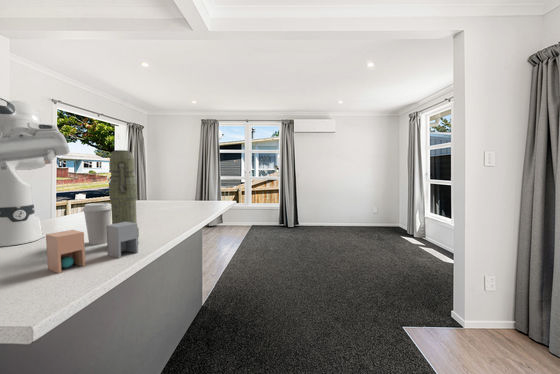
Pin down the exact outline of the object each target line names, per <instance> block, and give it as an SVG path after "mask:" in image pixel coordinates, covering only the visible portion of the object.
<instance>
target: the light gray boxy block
mask: <svg viewBox="0 0 560 374" xmlns="http://www.w3.org/2000/svg"><path fill="white" fill-rule="evenodd" d="M137 227H138V222H137V223H131V222H121V223H115V224H112V223H110V225H106V228H107V243H106V246H107V256H110V257H114V258H117V259H121V258H122V253H123V252H126V251H127V252H129V253H135V254H138V253H139V243H138V242H139V237H138V231H137Z"/></svg>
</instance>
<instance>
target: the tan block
mask: <svg viewBox="0 0 560 374" xmlns="http://www.w3.org/2000/svg"><path fill="white" fill-rule="evenodd" d="M45 234H46V237H45V241H46V243H45V244H46V258H47V260H46V261H47V270H50V271H52V272H54V273H56V274H61V273H62V267H61V259H62V258H63V257H66V256H70V257H72V258H73V259H74V263H73V265H74V264H75V265H77V266H81V267H86V253H85V251H86V249H85V233H84V231H81V230H75V229H69V230H63V231H56V232H52V233H45Z"/></svg>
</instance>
